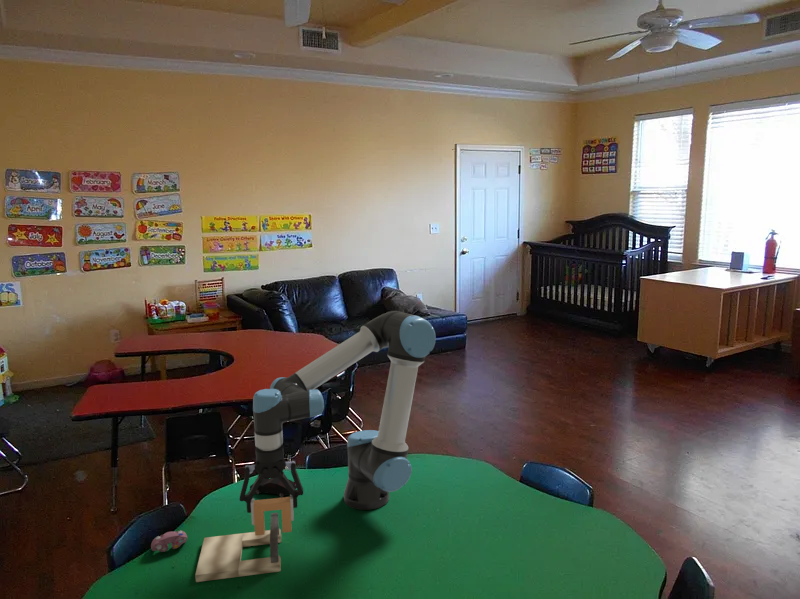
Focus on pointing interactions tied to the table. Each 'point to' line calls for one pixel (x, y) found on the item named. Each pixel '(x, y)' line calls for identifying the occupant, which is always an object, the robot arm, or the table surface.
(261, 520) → the tan wooden arch
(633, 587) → the table surface
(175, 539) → the video game controller
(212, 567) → the wooden base with post
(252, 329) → the table surface
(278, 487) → the toy car
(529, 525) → the table surface
